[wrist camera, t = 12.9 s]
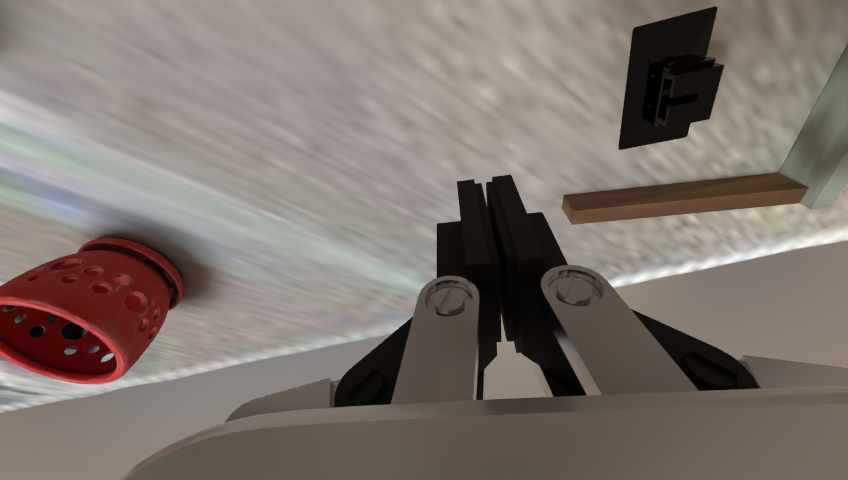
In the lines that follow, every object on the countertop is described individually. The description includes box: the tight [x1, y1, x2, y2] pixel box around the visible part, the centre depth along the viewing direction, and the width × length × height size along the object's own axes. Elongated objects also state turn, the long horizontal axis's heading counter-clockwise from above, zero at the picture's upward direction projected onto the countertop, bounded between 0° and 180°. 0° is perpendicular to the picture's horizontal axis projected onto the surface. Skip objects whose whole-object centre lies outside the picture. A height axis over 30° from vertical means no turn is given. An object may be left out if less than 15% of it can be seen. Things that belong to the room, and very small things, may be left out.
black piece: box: [619, 7, 724, 150], centre depth 24 cm, size 12×7×5 cm, turn 13°
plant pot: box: [0, 238, 184, 384], centre depth 35 cm, size 13×13×12 cm
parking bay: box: [562, 45, 848, 225], centre depth 23 cm, size 23×20×4 cm
